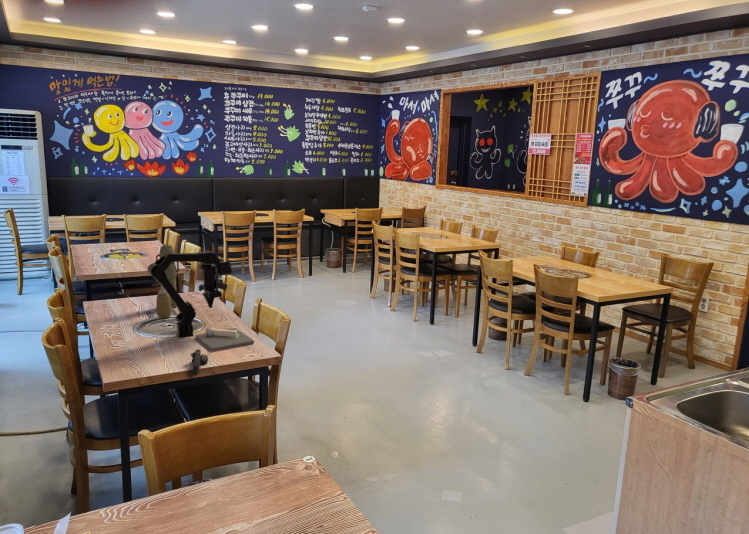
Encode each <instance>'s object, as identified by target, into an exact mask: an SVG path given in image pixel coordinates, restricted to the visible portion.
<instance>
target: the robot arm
mask: <svg viewBox="0 0 749 534" xmlns="http://www.w3.org/2000/svg"><path fill="white" fill-rule="evenodd" d="M157 259H158V258H157ZM172 262H175V263H177V262H179V263H180V262H181V263H182V262H189V263H190V262H193V263H194V262H196V263H201V264H200V265H198V268H199V269H201V270H202V271H203V272H202V273H203V277H202V279H201V280H202V282H203V283H202V284H199V286H198V291H199V292H202V291H203V292H202V296H203V298H204V300H205V302H206V303H207V304H206V305H207V306H208V308H209V309H212V308H213V305H214V301H215V298H221V297H223V293H222V291H220V290H223V291H227V289H228V286H229V284H228V283H226V282H224V280H223V279H222V278H217V277H216V276H217V275H218V276H219V277H220V276H221V277H222V276H229V275H232V271H233V270H232V269H233V268H232V266H231V262H230V261H229V260H225V261H219V260H218V259H217V255H216V253H215V252H214V251H211V250H209V249H208V250H202V251H201V250H200V251H198V252H174V253H166V254H165V255H164V256H163V257H161V258H160V257H159V259H158V260H157V261H156V260H155V262H153V263H150V264H149V265H148V267H147V272H148V274H149V275H150V276H151V277H152V278H154V279H155V280H156V281H157V282H158V283H159V284H160V286H161V285H162V287H163V288H164V289H165V291H166V292H167V293H168V294H169V296H170V297H171V298H172V300H173V301H174V302H175V304H176V305H177V308H176V309H177V311H178V312H179V313H178V314H177V315H176V316H175V317H174V318H175V321H176V333H175V334H176V336H178V337H179V338H185V337H191V336H194V325H193V321H194V319H195V318H196V316H197V312H196V309H195V308H194V306H193V305H192V303H191V302H190V301H189V300H186V301H185V300H184V299H183V297H182V296H181V295H180V294H179V293H178V291H177V289H176V290H175V288H174V287H173V286H172V284H171V283H170V282H169V280H168V278H167V276H166V273H165V270H166V269H167V268H168V267H169V265H170V264H171V263H172ZM219 289H220V290H219Z"/></svg>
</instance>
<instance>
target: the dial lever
mask: <svg viewBox="0 0 749 534" xmlns="http://www.w3.org/2000/svg"><path fill="white" fill-rule="evenodd" d="M205 333H206V336H214V335H217V336H231V337H237V336H238V335H237V331H233V330H227V329H219V328H216V327H213V326H210V327H206V328H205Z"/></svg>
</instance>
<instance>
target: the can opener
mask: <svg viewBox="0 0 749 534" xmlns="http://www.w3.org/2000/svg"><path fill="white" fill-rule="evenodd" d="M201 352H202V351H201V349H199V348H197V349H195V351H194V352H191V353H190V356H191V357H192V358H191V362H192V363H193V366H192V373H193V375H199V373H200V369H201V368H200V366H201V365H207V363H208V361H209V357H208V355H207V354H202V353H201Z"/></svg>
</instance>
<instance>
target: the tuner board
mask: <svg viewBox="0 0 749 534" xmlns="http://www.w3.org/2000/svg"><path fill="white" fill-rule="evenodd" d="M226 330H233V331H237V335H238V336H237V337H231V336H217V335H214V336H206V332H205V333H204V332H203V333H199V334H195V339H196V338H197V339H196V340H198V341H199V342H200V343H201V344H202V345H203V344H204V345H203V346H205V347H206V348H207V349H208V350H209V349H210V350H209V351H210V352H217V351H222V350H221V349H223V350H228V349H231V348H232V347H233V348H238V347H242V346H243V345H244V346H248V344H249V345H253V343H254V344H255V340H254V339H253V338H251V337H249V335H247V334H246V333H244V332H242V331H241V330H239V329H238V328H237V327H234V328H228V329H226ZM237 346H238V347H237ZM227 348H228V349H227ZM233 348H232V349H233ZM216 350H217V351H216Z"/></svg>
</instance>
